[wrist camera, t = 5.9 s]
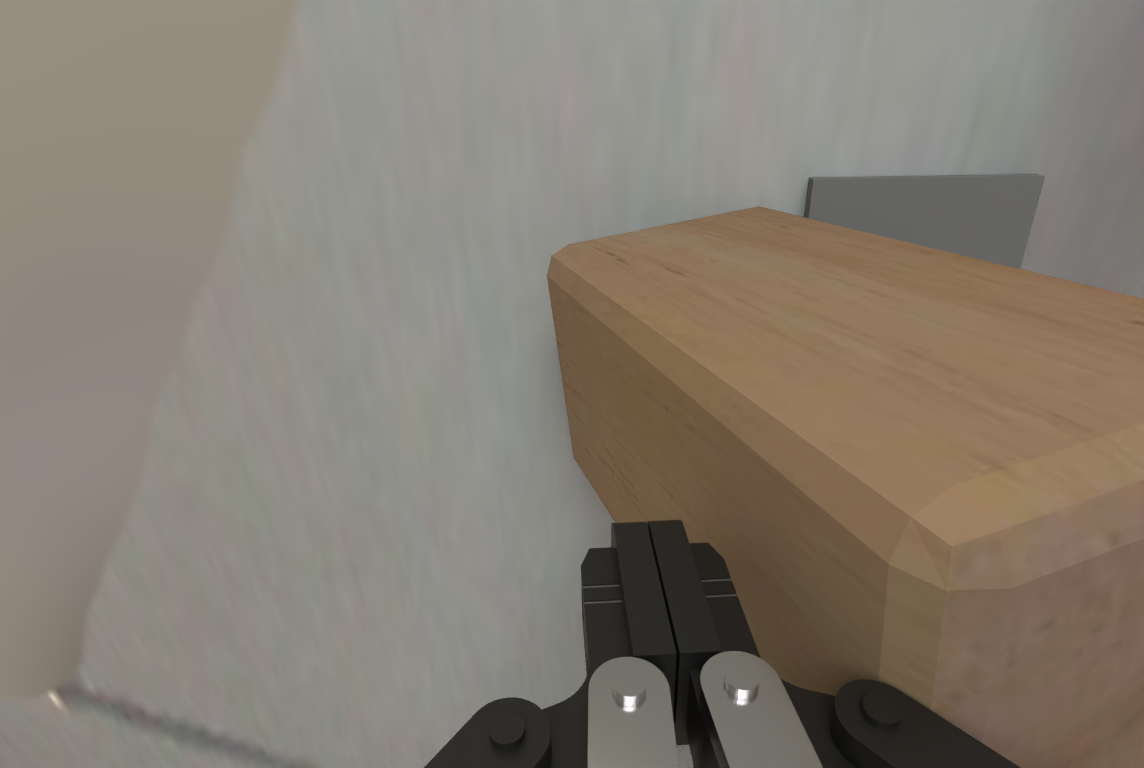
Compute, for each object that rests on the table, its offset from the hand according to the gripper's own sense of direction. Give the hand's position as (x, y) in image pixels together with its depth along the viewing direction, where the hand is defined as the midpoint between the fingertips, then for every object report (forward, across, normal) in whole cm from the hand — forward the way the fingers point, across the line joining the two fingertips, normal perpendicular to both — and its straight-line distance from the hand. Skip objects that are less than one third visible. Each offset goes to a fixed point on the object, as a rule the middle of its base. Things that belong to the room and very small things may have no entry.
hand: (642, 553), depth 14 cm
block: (+16, -3, +1) cm, 16 cm away
